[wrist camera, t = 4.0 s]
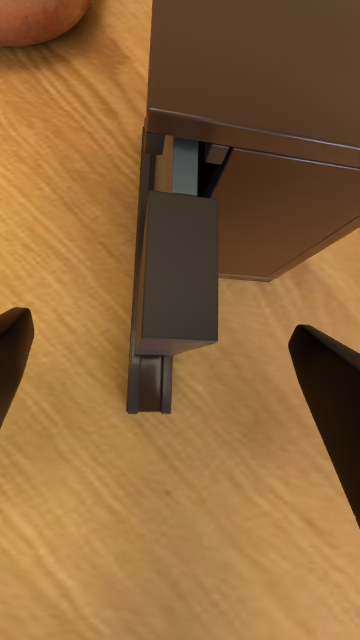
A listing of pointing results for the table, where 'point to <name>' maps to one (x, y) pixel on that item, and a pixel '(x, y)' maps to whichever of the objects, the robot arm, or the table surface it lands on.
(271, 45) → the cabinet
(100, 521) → the table surface
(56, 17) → the ceramic jug
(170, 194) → the door
